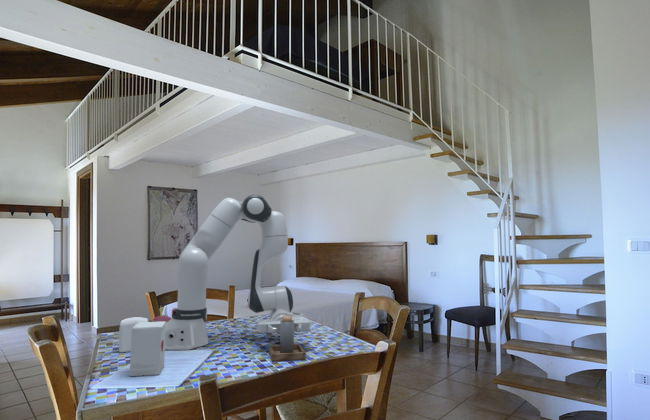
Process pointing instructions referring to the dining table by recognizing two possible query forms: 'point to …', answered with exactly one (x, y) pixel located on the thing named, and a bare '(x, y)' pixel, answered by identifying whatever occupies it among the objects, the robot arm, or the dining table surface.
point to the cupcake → (161, 317)
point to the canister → (287, 335)
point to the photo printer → (127, 332)
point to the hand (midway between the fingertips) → (286, 330)
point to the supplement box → (147, 348)
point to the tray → (277, 356)
